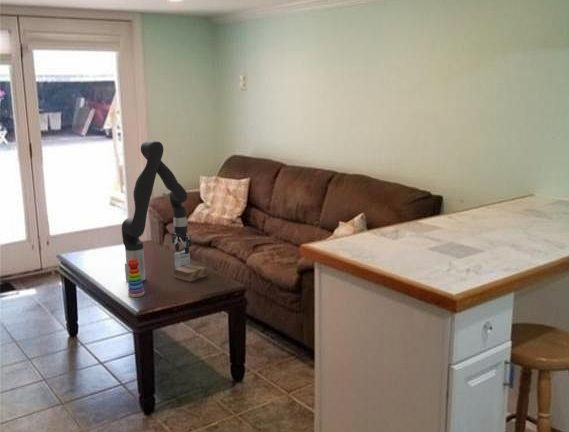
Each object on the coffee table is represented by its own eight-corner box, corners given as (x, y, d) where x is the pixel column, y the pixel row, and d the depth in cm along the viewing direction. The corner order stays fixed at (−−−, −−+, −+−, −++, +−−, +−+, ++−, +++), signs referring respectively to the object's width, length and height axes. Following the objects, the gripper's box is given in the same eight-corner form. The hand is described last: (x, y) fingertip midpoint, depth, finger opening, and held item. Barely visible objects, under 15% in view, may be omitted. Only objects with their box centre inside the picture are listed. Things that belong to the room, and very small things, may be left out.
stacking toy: (142, 291, 304) (139, 255, 300) (146, 296, 297) (144, 259, 293) (126, 294, 300) (123, 257, 296) (130, 298, 293) (127, 261, 289)
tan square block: (189, 282, 318) (189, 273, 316) (174, 278, 325) (174, 269, 324) (206, 276, 327) (205, 267, 325) (191, 272, 334) (190, 263, 333)
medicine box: (180, 268, 340) (179, 254, 338) (174, 267, 342) (173, 252, 340) (190, 265, 346) (189, 250, 344) (184, 264, 348) (184, 249, 347)
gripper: (167, 224, 341) (169, 251, 344) (183, 227, 331) (184, 256, 335) (177, 221, 346) (179, 248, 350) (193, 225, 337) (195, 253, 340)
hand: (182, 252), depth 342 cm, fingers open, 8 cm apart
